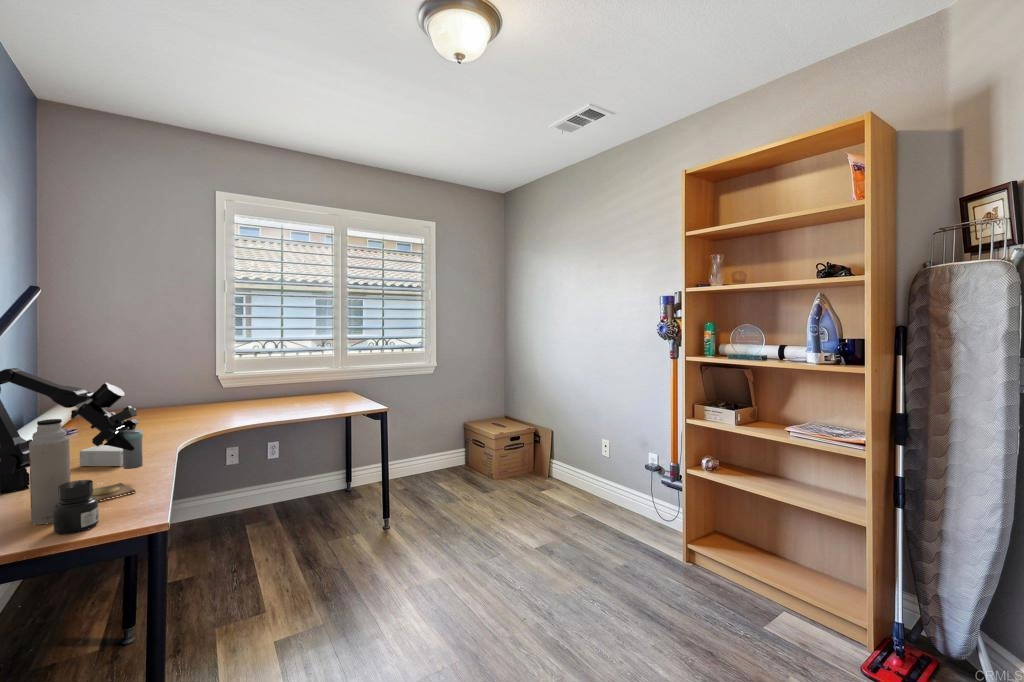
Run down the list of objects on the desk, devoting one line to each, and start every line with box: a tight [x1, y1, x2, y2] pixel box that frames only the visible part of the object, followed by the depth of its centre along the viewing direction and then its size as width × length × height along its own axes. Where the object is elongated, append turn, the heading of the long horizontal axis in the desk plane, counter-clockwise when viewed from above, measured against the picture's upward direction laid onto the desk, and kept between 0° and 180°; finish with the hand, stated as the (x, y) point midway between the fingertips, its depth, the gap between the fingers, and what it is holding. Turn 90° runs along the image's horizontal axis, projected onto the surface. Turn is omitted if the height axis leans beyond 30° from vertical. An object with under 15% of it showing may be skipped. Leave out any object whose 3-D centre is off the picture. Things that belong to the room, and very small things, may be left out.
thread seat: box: [92, 482, 136, 501], centre depth 150 cm, size 12×12×2 cm
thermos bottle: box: [29, 418, 71, 525], centre depth 131 cm, size 8×8×28 cm
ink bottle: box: [53, 479, 100, 535], centre depth 126 cm, size 10×9×12 cm
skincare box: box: [79, 444, 123, 467], centre depth 182 cm, size 8×7×16 cm
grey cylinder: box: [122, 428, 144, 470], centre depth 162 cm, size 5×5×12 cm
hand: (137, 447), depth 163 cm, fingers closed on grey cylinder, 5 cm apart
